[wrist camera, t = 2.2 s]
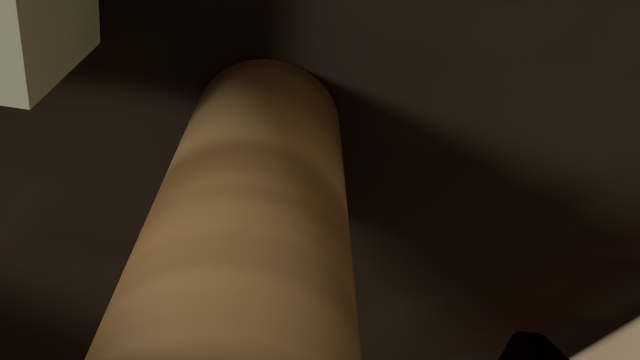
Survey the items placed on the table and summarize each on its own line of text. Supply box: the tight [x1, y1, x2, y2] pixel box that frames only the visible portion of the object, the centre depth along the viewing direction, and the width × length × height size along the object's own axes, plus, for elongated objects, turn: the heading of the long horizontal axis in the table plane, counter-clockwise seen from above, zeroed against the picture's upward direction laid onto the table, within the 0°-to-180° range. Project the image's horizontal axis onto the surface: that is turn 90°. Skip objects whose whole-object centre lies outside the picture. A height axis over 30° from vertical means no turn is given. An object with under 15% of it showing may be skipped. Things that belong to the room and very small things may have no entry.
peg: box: [85, 59, 362, 360], centre depth 10 cm, size 4×4×8 cm
